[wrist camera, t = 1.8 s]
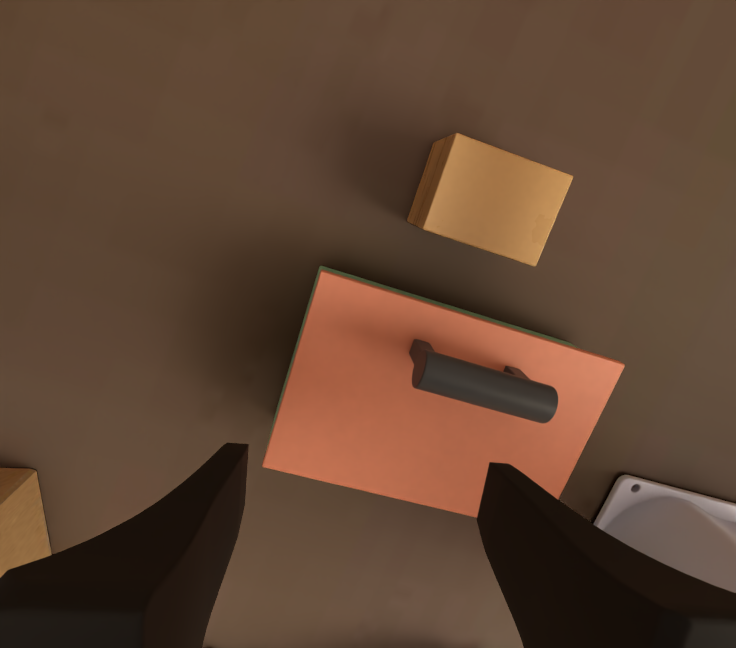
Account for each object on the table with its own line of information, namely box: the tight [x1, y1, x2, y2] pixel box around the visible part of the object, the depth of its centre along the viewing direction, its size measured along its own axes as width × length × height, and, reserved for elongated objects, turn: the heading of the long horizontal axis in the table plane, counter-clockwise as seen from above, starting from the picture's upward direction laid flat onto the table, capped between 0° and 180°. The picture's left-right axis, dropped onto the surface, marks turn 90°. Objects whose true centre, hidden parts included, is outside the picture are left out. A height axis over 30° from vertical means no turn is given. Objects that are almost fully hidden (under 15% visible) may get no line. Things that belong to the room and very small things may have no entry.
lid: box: [262, 270, 625, 517], centre depth 18 cm, size 9×13×4 cm, turn 72°
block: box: [407, 133, 573, 266], centre depth 20 cm, size 5×4×4 cm
